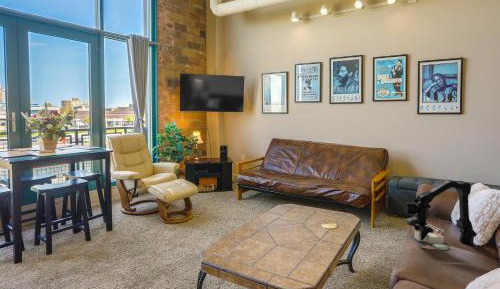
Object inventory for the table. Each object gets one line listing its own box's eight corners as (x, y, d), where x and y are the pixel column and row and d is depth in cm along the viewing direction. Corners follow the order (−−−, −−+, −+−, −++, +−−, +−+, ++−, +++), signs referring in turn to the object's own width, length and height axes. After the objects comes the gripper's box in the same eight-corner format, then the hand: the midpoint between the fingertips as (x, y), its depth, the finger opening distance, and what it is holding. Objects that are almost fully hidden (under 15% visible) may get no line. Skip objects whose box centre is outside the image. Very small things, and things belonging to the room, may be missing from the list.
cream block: (420, 237, 207) (421, 229, 206) (425, 241, 201) (425, 233, 200) (414, 237, 207) (414, 229, 206) (418, 240, 201) (419, 233, 200)
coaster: (443, 244, 199) (443, 243, 199) (451, 250, 190) (451, 249, 190) (429, 244, 199) (429, 242, 199) (437, 249, 191) (437, 248, 191)
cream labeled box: (438, 239, 206) (438, 233, 206) (443, 243, 201) (443, 237, 200) (423, 239, 207) (424, 232, 206) (428, 242, 201) (429, 236, 200)
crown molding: (409, 221, 239) (438, 224, 235) (409, 223, 239) (438, 226, 235) (419, 233, 216) (452, 236, 212) (419, 235, 216) (452, 238, 212)
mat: (433, 237, 212) (434, 236, 211) (452, 251, 191) (452, 249, 191) (407, 236, 212) (407, 234, 212) (423, 250, 191) (423, 248, 191)
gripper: (402, 209, 212) (400, 231, 213) (415, 218, 193) (413, 243, 195) (419, 209, 211) (417, 232, 213) (434, 219, 193) (432, 244, 194)
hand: (419, 238), depth 204 cm, fingers closed on cream block, 6 cm apart
